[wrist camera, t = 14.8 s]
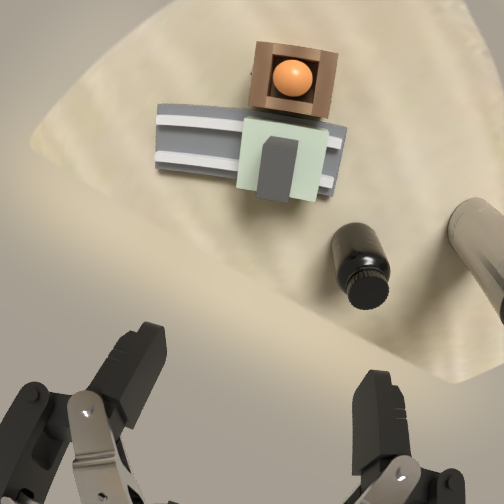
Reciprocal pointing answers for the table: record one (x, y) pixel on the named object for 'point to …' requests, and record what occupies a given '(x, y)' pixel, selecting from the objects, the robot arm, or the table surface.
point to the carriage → (281, 159)
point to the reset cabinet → (308, 103)
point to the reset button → (292, 78)
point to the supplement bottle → (361, 266)
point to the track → (226, 140)
